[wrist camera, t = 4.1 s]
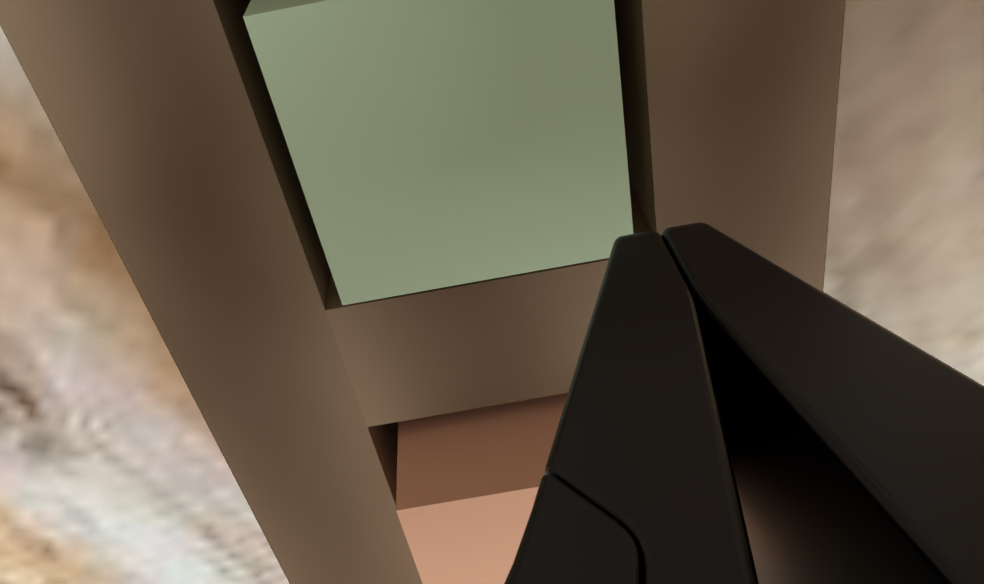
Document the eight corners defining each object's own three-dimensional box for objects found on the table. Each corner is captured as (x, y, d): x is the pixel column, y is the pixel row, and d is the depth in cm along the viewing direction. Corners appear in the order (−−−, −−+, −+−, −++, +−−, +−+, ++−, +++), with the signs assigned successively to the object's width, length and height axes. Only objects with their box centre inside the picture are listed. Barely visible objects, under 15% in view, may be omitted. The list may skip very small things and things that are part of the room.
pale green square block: (576, -105, 14) (609, -55, 11) (603, 168, 17) (635, 253, 14) (272, -45, 14) (243, 17, 12) (353, 213, 17) (342, 305, 15)
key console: (763, -340, 14) (871, -340, 10) (747, 640, 30) (787, 758, 27) (29, -188, 14) (-86, -142, 11) (410, 694, 31) (410, 815, 27)
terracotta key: (630, 359, 18) (662, 465, 16) (644, 510, 21) (673, 619, 19) (398, 399, 18) (395, 510, 16) (445, 543, 21) (448, 655, 19)
